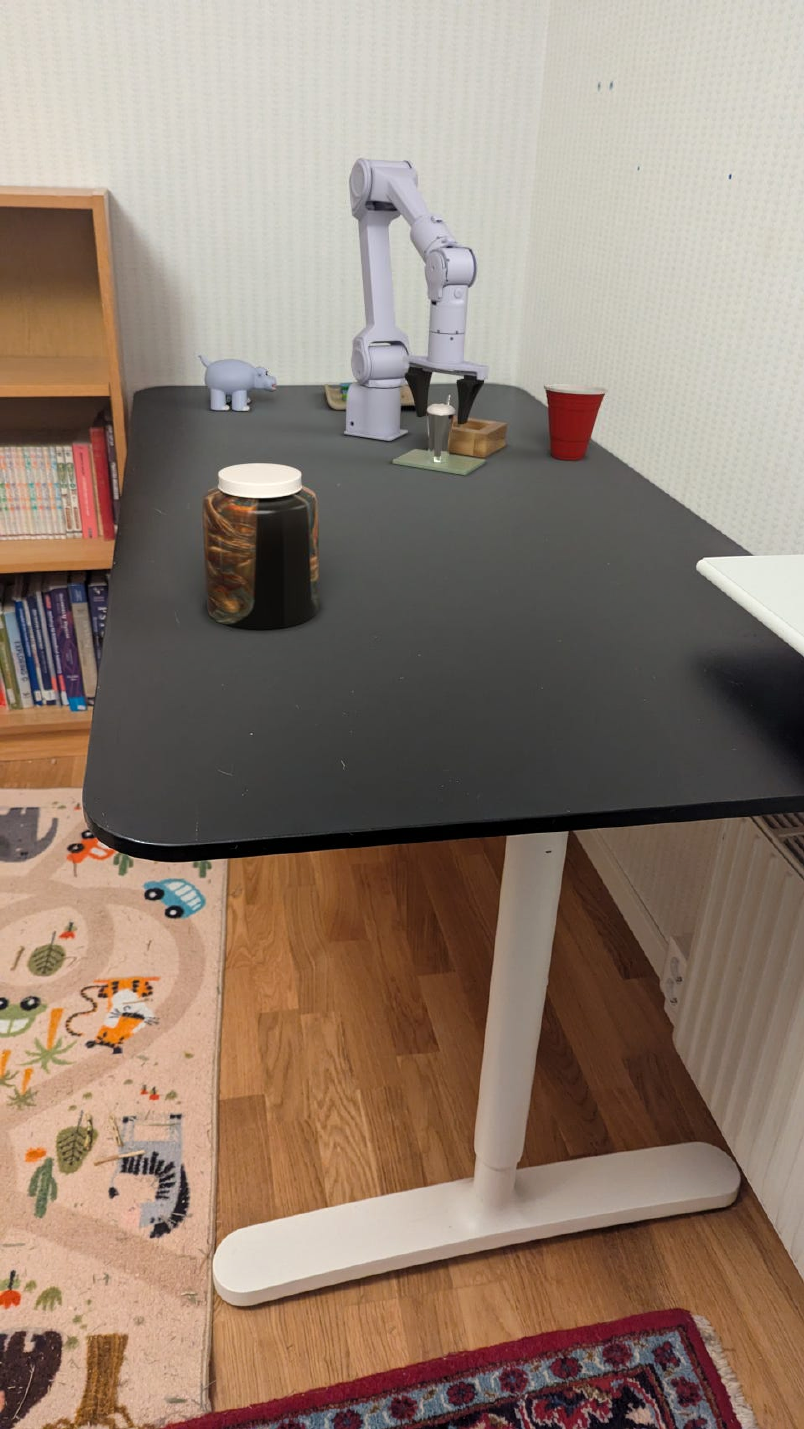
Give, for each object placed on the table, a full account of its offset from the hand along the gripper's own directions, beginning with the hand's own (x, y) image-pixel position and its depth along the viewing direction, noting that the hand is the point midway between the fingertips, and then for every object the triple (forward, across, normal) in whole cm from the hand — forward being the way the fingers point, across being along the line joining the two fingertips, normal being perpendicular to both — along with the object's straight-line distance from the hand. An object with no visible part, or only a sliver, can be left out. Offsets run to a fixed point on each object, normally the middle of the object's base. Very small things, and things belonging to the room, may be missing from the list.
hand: (441, 420), depth 165 cm
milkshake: (+7, 0, 0) cm, 7 cm away
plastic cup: (+7, -15, -19) cm, 26 cm away
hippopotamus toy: (+7, +53, -13) cm, 55 cm away
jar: (+7, -16, +67) cm, 69 cm away
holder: (+7, +1, -13) cm, 15 cm away
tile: (+7, 0, 0) cm, 7 cm away
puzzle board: (+7, +35, -34) cm, 49 cm away
